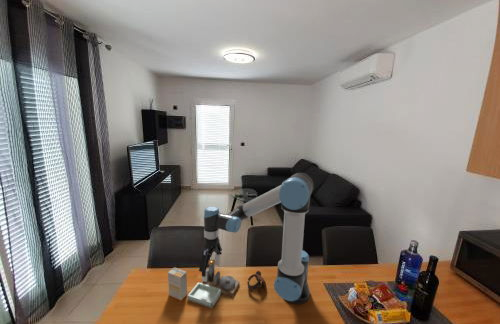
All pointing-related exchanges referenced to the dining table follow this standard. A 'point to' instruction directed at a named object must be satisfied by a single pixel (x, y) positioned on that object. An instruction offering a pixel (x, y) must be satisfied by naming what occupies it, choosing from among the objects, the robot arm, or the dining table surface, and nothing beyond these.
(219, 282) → the pulley block
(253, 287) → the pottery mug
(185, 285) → the supplement box
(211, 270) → the lock pin
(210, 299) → the tray
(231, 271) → the dining table surface
